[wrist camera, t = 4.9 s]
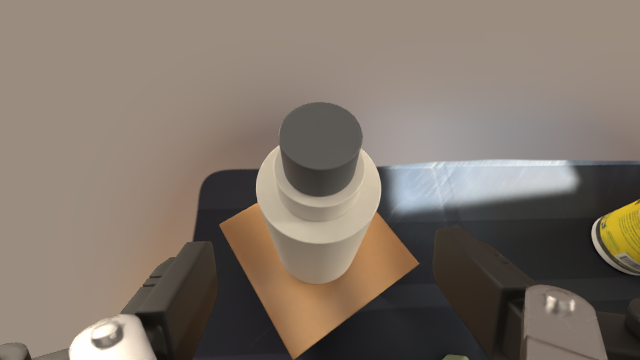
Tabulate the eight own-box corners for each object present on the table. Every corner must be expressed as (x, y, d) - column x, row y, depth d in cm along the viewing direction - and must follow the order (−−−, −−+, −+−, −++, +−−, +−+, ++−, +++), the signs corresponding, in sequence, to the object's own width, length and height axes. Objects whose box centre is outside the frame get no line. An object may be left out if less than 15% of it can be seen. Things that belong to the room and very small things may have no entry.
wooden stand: (299, 355, 26) (293, 360, 18) (244, 256, 30) (218, 224, 22) (389, 286, 29) (419, 263, 21) (328, 204, 32) (333, 158, 24)
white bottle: (304, 301, 19) (293, 244, 8) (263, 233, 21) (210, 115, 10) (371, 254, 21) (436, 153, 10) (326, 194, 23) (338, 55, 12)
